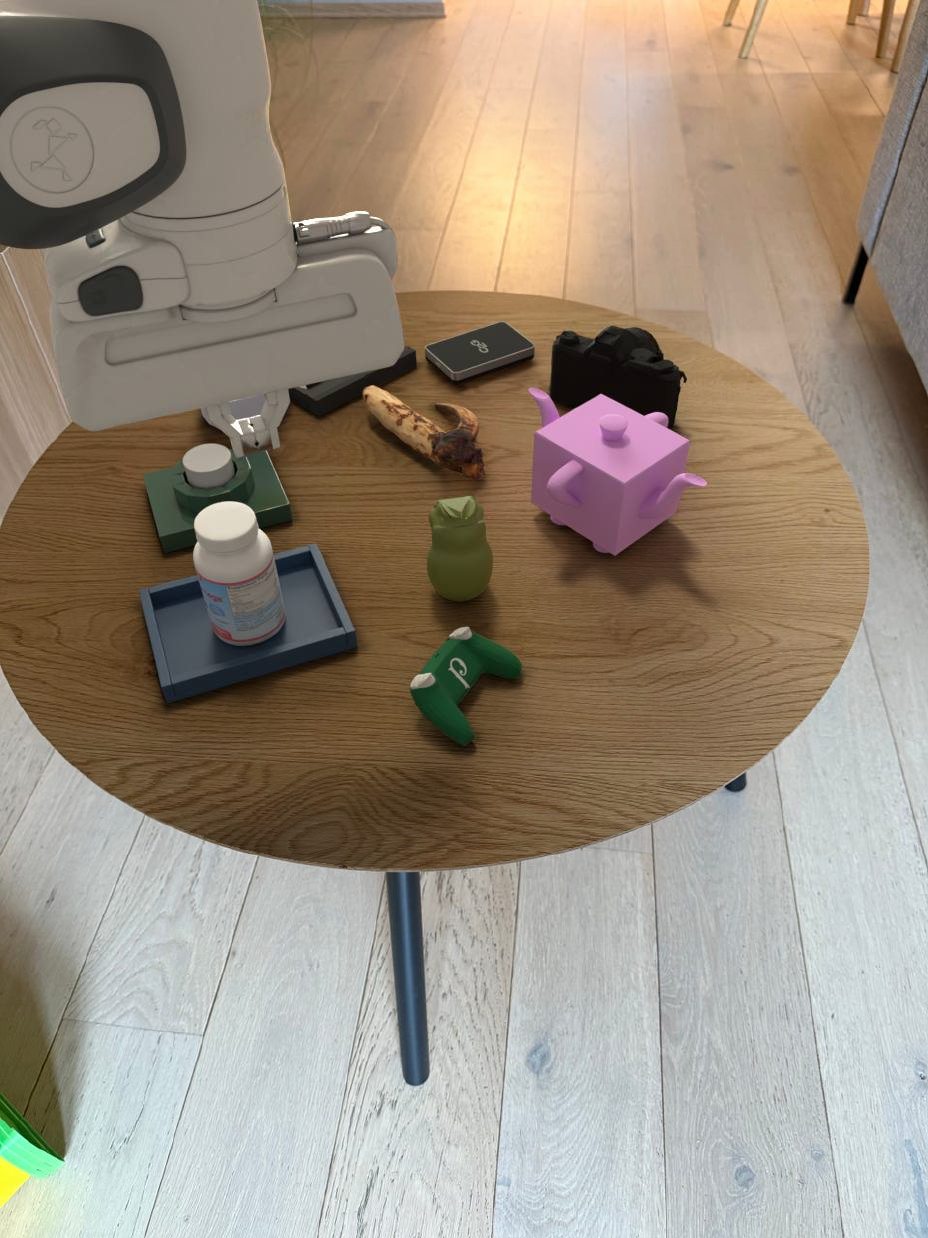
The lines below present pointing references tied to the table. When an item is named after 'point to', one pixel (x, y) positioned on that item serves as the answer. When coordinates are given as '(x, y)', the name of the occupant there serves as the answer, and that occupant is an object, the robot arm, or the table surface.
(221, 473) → the white short cylinder
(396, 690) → the table surface
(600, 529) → the teapot
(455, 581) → the green figurine
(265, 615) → the pill bottle
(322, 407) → the vhs tape
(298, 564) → the dish
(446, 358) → the external hard drive
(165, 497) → the button base
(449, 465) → the bone fish hook
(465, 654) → the gaming controller
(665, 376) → the film camera
